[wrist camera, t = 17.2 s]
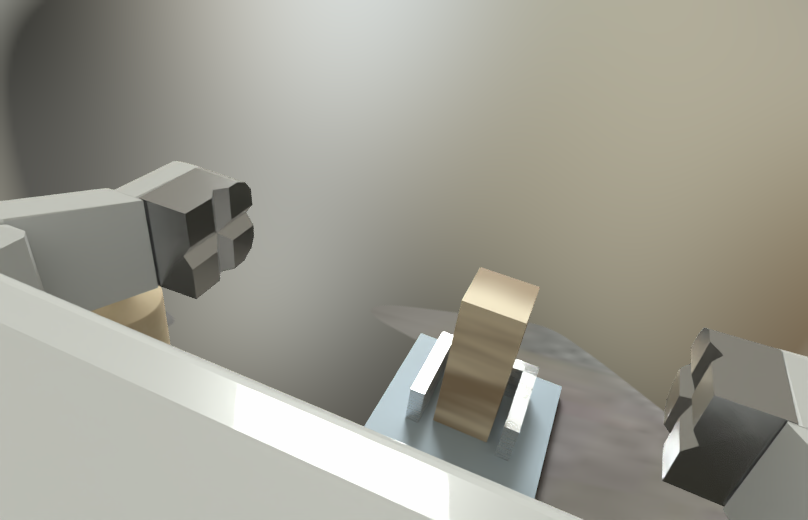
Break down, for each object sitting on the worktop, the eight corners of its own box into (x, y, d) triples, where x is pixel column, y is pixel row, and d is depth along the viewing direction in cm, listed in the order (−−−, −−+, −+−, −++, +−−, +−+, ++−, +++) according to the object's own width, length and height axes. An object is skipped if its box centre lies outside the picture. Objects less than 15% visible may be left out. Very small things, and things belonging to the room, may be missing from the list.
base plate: (355, 447, 38) (356, 438, 38) (419, 341, 48) (421, 333, 47) (526, 524, 35) (530, 515, 35) (558, 395, 45) (561, 386, 44)
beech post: (486, 442, 39) (526, 323, 33) (433, 420, 40) (461, 300, 34) (500, 402, 42) (539, 287, 36) (450, 382, 43) (480, 267, 37)
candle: (192, 392, 40) (178, 282, 35) (117, 437, 37) (88, 323, 31) (148, 352, 43) (129, 244, 37) (75, 391, 39) (40, 277, 33)
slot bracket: (404, 417, 40) (410, 388, 38) (436, 359, 45) (442, 331, 43) (508, 461, 38) (519, 432, 36) (528, 395, 43) (539, 367, 41)
